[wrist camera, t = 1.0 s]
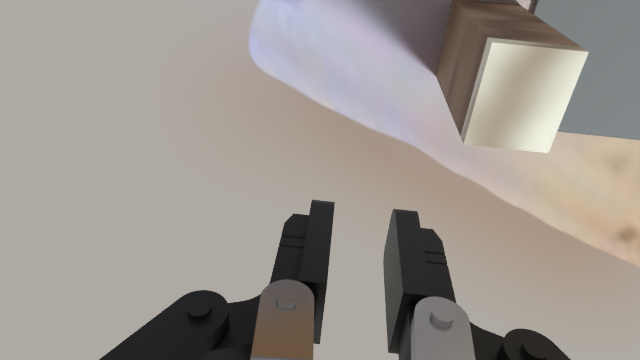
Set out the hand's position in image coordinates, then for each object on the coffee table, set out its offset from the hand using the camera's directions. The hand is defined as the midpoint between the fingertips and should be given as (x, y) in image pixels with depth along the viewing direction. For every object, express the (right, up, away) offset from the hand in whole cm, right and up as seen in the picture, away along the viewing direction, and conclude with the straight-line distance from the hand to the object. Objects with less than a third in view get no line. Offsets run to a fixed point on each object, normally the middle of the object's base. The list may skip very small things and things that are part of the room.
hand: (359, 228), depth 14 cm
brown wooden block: (+11, +12, +21) cm, 27 cm away
